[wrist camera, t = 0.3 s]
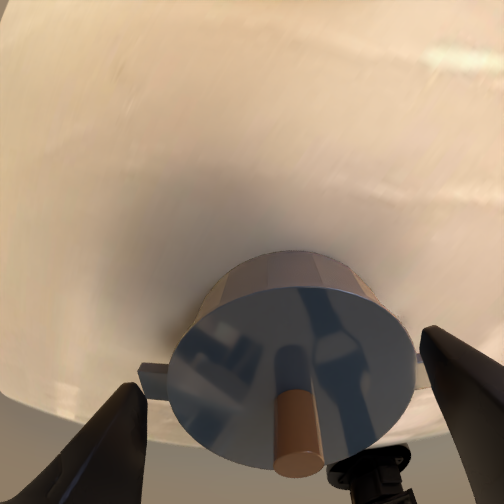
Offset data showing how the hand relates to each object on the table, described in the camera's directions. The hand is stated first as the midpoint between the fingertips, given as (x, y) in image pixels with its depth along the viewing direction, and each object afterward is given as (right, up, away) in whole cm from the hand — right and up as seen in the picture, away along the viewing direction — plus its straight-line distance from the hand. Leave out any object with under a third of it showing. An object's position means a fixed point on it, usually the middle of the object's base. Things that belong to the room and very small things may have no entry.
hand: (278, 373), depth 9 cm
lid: (+2, -5, +8) cm, 10 cm away
